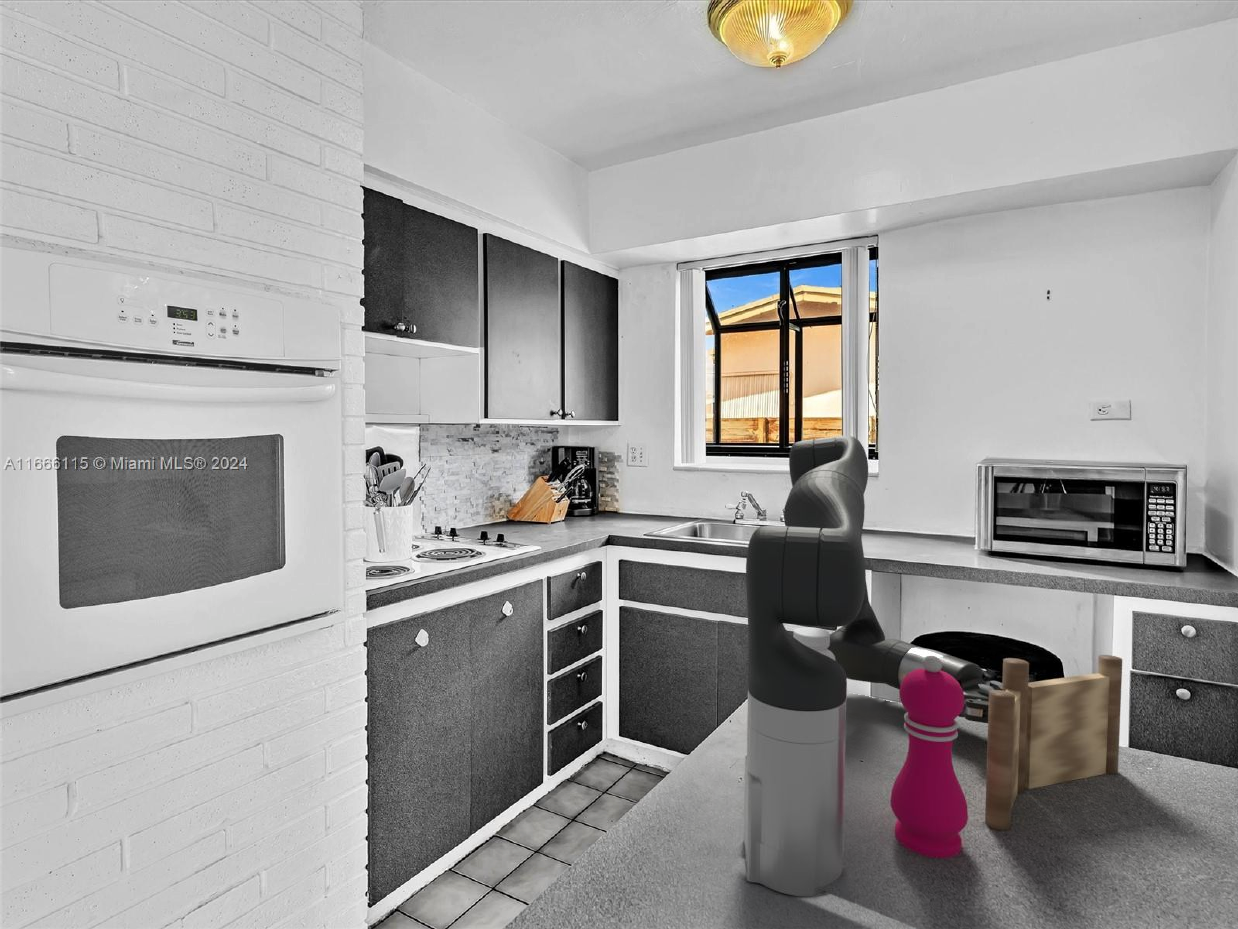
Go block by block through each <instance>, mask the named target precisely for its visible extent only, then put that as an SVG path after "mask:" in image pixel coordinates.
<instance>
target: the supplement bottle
mask: <svg viewBox="0 0 1238 929" xmlns="http://www.w3.org/2000/svg"><path fill="white" fill-rule="evenodd" d="M830 634H831V633H830V632H829V631H828V630H826V629H822V628H818V627H813V626H809V627H808V626H804V627H797V628H795V629H793V635H792V636H793V637H794V638H795V639H797V640H798V641H799V642H801V643H802V644H804V645H805V646H807V647H809V648H811V649H813V650H815V651H817V652H819V653H821V654H824V655H826V656H828V657H830V658H832V659H833V660H835V656H834V654H833V653H832V652H831V651H829V650H828V649H827V648H828V647H829V646H830V645H829V644H830Z"/></svg>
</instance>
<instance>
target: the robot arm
mask: <svg viewBox="0 0 1238 929" xmlns="http://www.w3.org/2000/svg"><path fill="white" fill-rule="evenodd" d="M788 458H789V459H788V460H789V462H788V466H789V476H790V480H791V486H792V487H791V489H790V492H789V494H788V497H787V499H786V502H785V505H784V510H783V519H784V520H783V521H784V526H781V525H765V526H764V525H763V526H762V525H761V526H759V527H758V528H756V529H755V530H754V532H753V533H752V534H751V537H750V539H749V542H748V546H747V550H746V551H747V552H746V560H745V561H746V562H745V585H746V586H745V589H746V606H747V607H746V608H747V633H748V634H747V635H748V637H747V640H748V641H747V642H748V643H747V645H748V646H747V647H748V648H747V652H748V653H747V661H748V663H747V667H748V668H747V672H748V673H747V715H746V716H747V720H746V721H747V722H746V724H747V728H746V732H747V734H746V755H745V757H744V794H743V795H744V799H743V801H744V802H743V813H744V814H743V842H744V843H743V845H744V853H745V858H744V862H745V872H746V873H745V874H746V880H747V881H748V882H750V883H758V884H760V885H763V886H765V887H767V888H769V889H771V890H772V891H776V892H779V893H781V894H786V895H791V896H796V897H797V896H798V897H815V896H820V895H824V894H827V893H828V891H826V890H824V889H821V888H822V887H826V886H828V885H830V884H833V883H834V882H835V881H836V880H838V879H839V878H840V876H841V875H842V873H843V870H844V858H845V857H844V856H845V855H844V840H845V839H844V837H845V833H844V832H845V830H844V829H845V790H846V788H845V786H846V785H845V783H846V776H845V775H846V735H847V734H846V732H847V731H846V727H847V695H848V692H847V690H848V687H847V686H848V681H847V680H851V681H856V682H857V681H858V682H864V683H872V684H884V685H887V686H890V687H892V688H895V689H897V690H899V691H900V685H901V683H902V680H903V679H904V677H905V676H906V675H907V674H908V673H910V672H911V671H913V670H916V669H921V668H924V667H923V659H924V658H925V657H926V656H928V655H935V656H937V657H938V658H939V659H940V660H941V662H942V667H941V669H940V670H941V671H944V672H946V673H948V674H949V675H951V676H952V677H954V678H955V679H956V680H957V681H958V683H959V684H960V686H961V688H962V690H963V694H964V708H963V710H962V712H961V713H960V715H959V716H958V717H959V718H964V719H965V721H966V720H967V721H971V722H976V723H982V724H988V711H989V691H992V690H1001V691H1002V683H1003V682H1000V681H997V680H989V679H988V678H987V676H986V674H985V672H984V670H983V669H982V668H981V667H980V666H979V665H978V664H976V663H974V662H971V661H968V660H965V659H962V658H958V657H956V656H952V655H950V654H947V653H944V652H941V651H938V650H934V649H930V648H925V647H921V646H918V645H915V644H912V643H909V642H907V641H903V640H900V639H896V638H890V639H889V638H888V639H886V636H885V633H884V630H883V628H882V626H881V624H880V622H879V621H878V618H877V616H876V614H875V611H874V609H873V607H872V606H871V603H870V601H869V600H870V598H869V593H868V585H867V577H866V575H867V574H866V572H867V571H866V562H865V555H864V554H865V553H864V547H863V539H862V536H863V528H864V521H865V509H866V508H865V496H864V495H865V491H866V489H867V485H868V479H869V462H868V456H867V453H866V450H865V447H864V445H863V444H862V443H861V441H860V440H858V438H857V437H854V436H851V435H836V436H829V437H821V438H811V439H805V440H800V441H797V442H796V441H795V442H794V443H793V444H792V446H791V448H790V450H789V456H788ZM784 624H787V625H797V626H798V625H799V626H807V627H808V626H809V627H820V628H837V627H838V629H836V630H835V631H832V633H830V644H829V645H830V646H829V647H828V648H827V649H828V650H829V651H831V652H832V653H833V654H834V656H835V660H833V659H832V658H830V657H828V656H826V655H824V654H821V653H819V652H817V651H815V650H813V649H811V648H809V647H807V646H805V645H804V644H802V643H801V642H799V641H798V640H797V639H795V638H794V637H793V635H792V634H791V633H790V632H789V631H788V630H787V628H786V627H785V625H784ZM839 627H840V628H839Z"/></svg>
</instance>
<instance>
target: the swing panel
mask: <svg viewBox="0 0 1238 929" xmlns="http://www.w3.org/2000/svg"><path fill="white" fill-rule="evenodd" d="M1097 661H1098V663H1097V664H1098V665H1097V672H1096V673H1089V674H1088V673H1087V674H1082V675H1081V674H1080V675H1074V676H1066V677H1059V678H1052V679H1044V680H1038V681H1031V682H1028V709H1027V739H1026V769H1025V789H1028V790H1032V789H1035V788H1036V789H1037V788H1041V787H1046V786H1051V785H1057V784H1061V783H1067V782H1071V781H1076V780H1082V779H1087V778H1091V777H1096V776H1101V775H1109V776H1110V775H1117V774H1118V773H1119V754H1120V729H1121V728H1120V727H1121V709H1122V708H1121V707H1122V705H1121V704H1122V702H1121V700H1122V681H1123V679H1122V677H1123V658H1122V657H1118V656H1117V655H1110V654H1099V655H1098V660H1097Z"/></svg>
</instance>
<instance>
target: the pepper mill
mask: <svg viewBox="0 0 1238 929" xmlns="http://www.w3.org/2000/svg"><path fill="white" fill-rule="evenodd" d="M923 667H924V668H921V669H916V670H913V671H911V672H910V673H908V674H907V675H906V676H905V677H904V679H903V680H902V683H901V685H900V690H899V692H898V693H899V699H900V702H901V704H902V706H903V708H904V709H905V710H906V713H904V715H903V719H904V724H903V728H904V730H905V731H906V732H907V734H908V752H907V755H906V758H905V761H904V764H903V766H902V768H901V769H900V771H899V773H898V775H897V776H896V778H895V780H894V783H893V785H892V789H891V793H890V807H891V810H892V813H893V814H894V817H895V818H896V819H897V821H896V822H895V825H894V835H895V836H894V837H895V838H896V840H897V841H898V842H899V843H900V844H901V846H903V847H905V848H906V849H908V850H909V851H912V852H914V853H917V854H919V855H922V856H926V857H930V858H937V859H938V858H943V859H944V858H953V857H955V856H957V855H958V854H959V853H960V852H961V851H962V845H963V843H962V841H963V840H962V836H961V835H960V832H961V831H962V830H963V829H964V828H966V826H967V823H968V820H969V815H968V814H969V812H968V805H967V804H968V803H967V801H966V797H965V794H964V790H963V788H962V786H961V784H960V781H959V780H958V778H957V774H956V772H955V768H954V765H953V759H952V758H953V754H952V753H953V751H952V750H953V742H954V740H956V739H957V738H958V736H959V733H958V727H959V722H958V721H957V717H959V715H960V713H961V712H962V710H963V708H964V694H963V690H962V688H961V686H960V684H959V683H958V681H957V680H956V679H955V678H954V677H952V676H951V675H949V674H948V673H946V672H944V671H941V670H940V669H941V667H942V662H941V660H940V659H939V658H938V657H937V656H935V655H928V656H926V657H925V658H924V659H923Z"/></svg>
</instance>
